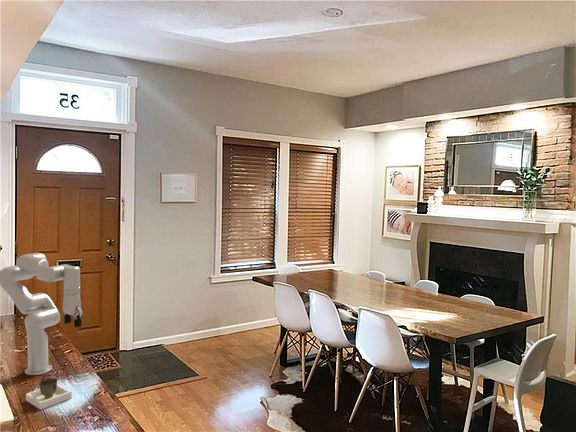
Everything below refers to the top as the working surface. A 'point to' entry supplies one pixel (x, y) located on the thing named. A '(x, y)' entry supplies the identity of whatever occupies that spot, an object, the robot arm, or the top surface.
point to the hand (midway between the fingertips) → (72, 324)
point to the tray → (41, 402)
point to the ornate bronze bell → (48, 387)
